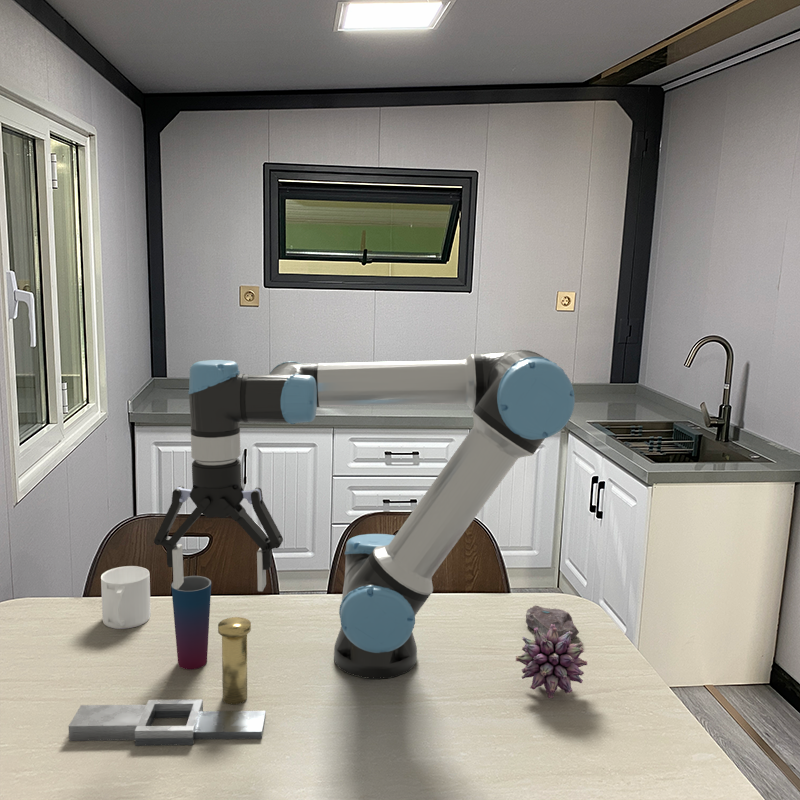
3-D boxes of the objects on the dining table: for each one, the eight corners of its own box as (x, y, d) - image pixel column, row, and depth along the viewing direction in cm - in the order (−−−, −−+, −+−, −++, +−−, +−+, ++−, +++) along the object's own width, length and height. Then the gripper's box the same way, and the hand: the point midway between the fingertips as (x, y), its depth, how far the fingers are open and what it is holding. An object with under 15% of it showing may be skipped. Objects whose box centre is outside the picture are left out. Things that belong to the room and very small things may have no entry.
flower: (562, 721, 127) (567, 652, 125) (501, 692, 135) (504, 627, 133) (597, 693, 136) (603, 628, 134) (538, 668, 144) (542, 606, 142)
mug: (115, 607, 163) (114, 564, 161) (157, 611, 162) (156, 567, 160) (86, 634, 151) (84, 588, 150) (132, 638, 150) (130, 591, 149)
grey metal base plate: (266, 712, 127) (266, 698, 127) (260, 744, 119) (260, 729, 118) (84, 714, 125) (83, 700, 125) (65, 746, 117) (65, 731, 116)
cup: (201, 674, 138) (200, 593, 135) (165, 669, 139) (164, 588, 137) (218, 655, 145) (217, 578, 142) (183, 651, 146) (182, 574, 143)
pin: (254, 691, 133) (254, 618, 131) (245, 708, 128) (245, 632, 126) (224, 688, 134) (224, 616, 132) (214, 705, 129) (213, 630, 126)
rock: (550, 617, 165) (552, 596, 164) (584, 641, 155) (585, 620, 154) (517, 623, 162) (518, 602, 161) (548, 649, 152) (550, 626, 151)
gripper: (299, 455, 128) (300, 579, 132) (146, 451, 129) (152, 575, 133) (290, 466, 120) (292, 598, 124) (129, 463, 122) (135, 594, 125)
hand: (220, 586), depth 128 cm, fingers open, 13 cm apart
